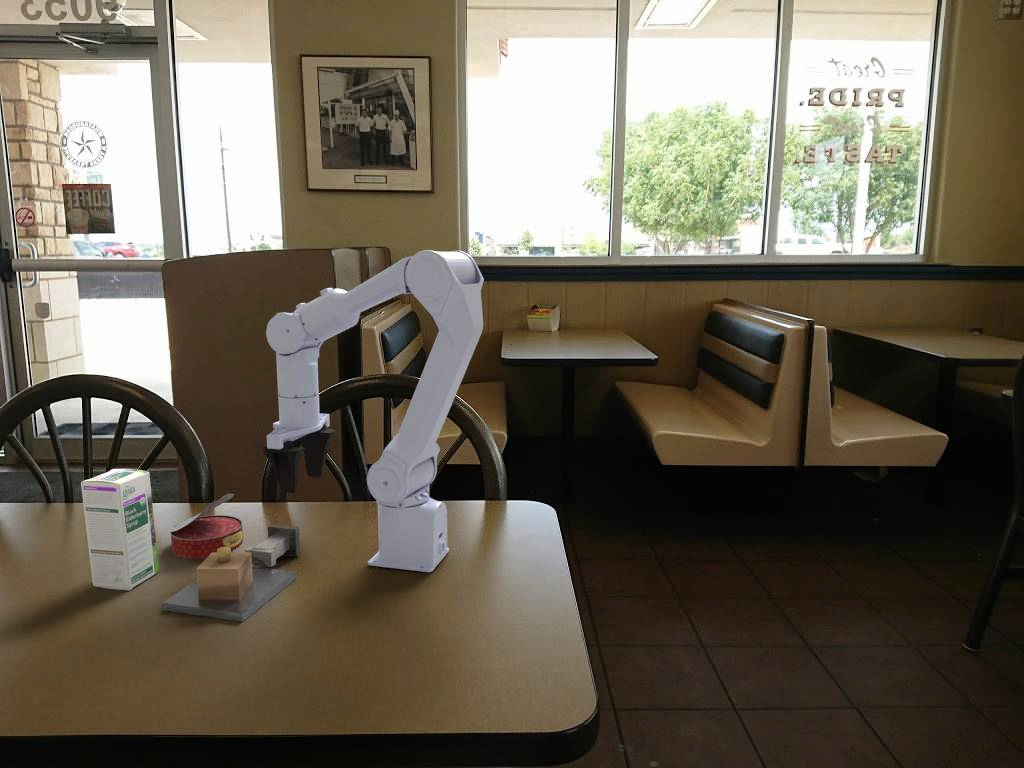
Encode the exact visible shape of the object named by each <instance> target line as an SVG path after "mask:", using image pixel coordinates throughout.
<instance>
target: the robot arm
mask: <svg viewBox="0 0 1024 768" xmlns="http://www.w3.org/2000/svg"><path fill="white" fill-rule="evenodd" d="M484 280H485V278H484V277H483V275H482V272H481V271H480V269H479V266H478V264H477V262H476V260H475V259H474V258H473V256H471V255H470V254H469V253H467V252H465V251H462V250H451V251H435V250H433V249H432V250H431V249H426V250H425V249H424V250H421V251H419V252H417V253H414V254H413V255H412V256H406V257H404V258H403V257H402V258H401V259H399V260H398V261H397V262H395V263H394V264H392V265H391V266H389V267H387V268H385V269H384V270H382V271H381V272H379V273H377V274H375V275H374V276H371V277H370V278H368V279H367V280H365V281H364V282H362V283H360V284H359V285H357V286H355V287H353V288H352V289H350V290H345V289H342V288H338V287H337V288H333V287H327V288H324V289H322V290H320V291H319V294H320V296H318V297H316V298H315V299H313V300H311V301H309V302H307V303H306V302H301V303H298V304H297V305H296V306H295V310H294V311H293V312H285V311H283V312H277V313H276V314H275V315H273V317H271V318H270V319H269V321H268V323H267V325H266V331H265V335H266V339H267V342H268V344H269V346H270V348H271V349H272V350H273V351H275V357H276V359H275V360H276V377H277V378H276V379H277V380H276V381H277V399H278V417H279V419H278V421H275V422H273V423H272V428H273V430H272V431H271V432H270V433H268V434H267V435H266V444H264V445H262V453H263V454H264V455H265V456H266V458H267V459H268V461H269V463H270V464H271V466H272V468H273V470H274V474H275V476H276V479H277V482H278V485H279V488H280V491H281V493H288V494H295V493H296V492H297V490H298V486H299V469H300V463H301V459H302V456H304V457H303V458H304V465H305V470H306V473H307V474H306V475H307V477H311V478H322V476H323V473H324V469H325V464H326V459H327V456H328V451H329V448H330V446H331V444H332V441H333V439H334V438H335V436H336V430H335V429H333V428H328V427H330V426H331V425H330V422H331V421H330V413H320V393H319V391H320V389H319V370H318V369H319V364H318V363H319V362H318V361H319V360H318V359H319V358H320V350H321V349H320V348H321V347H322V345H323V344H324V342H325V341H327V340H328V339H330V338H333V337H334V336H336V335H338V334H341V333H342V332H345V331H346V330H349V329H350V328H353V327H355V326H356V325H357V324H358V322H359V320H360V315H361V313H362V312H365V311H367V310H369V309H371V308H374V307H375V306H377V305H380V304H382V303H384V302H386V301H388V300H391V299H392V298H395V297H397V296H399V295H402V294H404V295H411V294H412V295H413V296H414V298H415V299H416V300H417V301H418V302H419V303H420V304H421V305H422V307H423V308H425V310H426V311H427V312H428V313H429V314H430V316H432V318H433V320H434V322H435V325H436V326H437V329H438V332H437V335H436V337H435V340H434V342H433V345H432V347H431V351H430V352H429V355H428V358H427V361H426V362H425V365H424V368H423V370H422V373H421V376H420V378H419V380H418V382H417V385H416V387H415V390H414V393H413V395H412V398H411V400H410V403H409V405H408V408H407V411H406V413H405V414H404V415H405V416H404V418H403V421H402V422H401V425H400V427H399V430H398V432H397V434H396V435H395V436H394V437H393V438H392V439H391V440H390V442H389V443H388V444H387V446H386V447H385V448H384V449H383V452H382V454H381V456H380V458H379V459H378V460H377V461H376V462H374V463H373V464H371V466H370V468H369V469H368V472H367V474H366V475H367V476H366V483H367V488H368V490H369V492H370V495H371V496H372V497H373V498H374V499H375V501H376V502H375V503H376V504H377V530H378V531H377V532H378V534H377V535H378V538H377V539H378V551H377V553H375V554H374V555H373V557H371V558H370V559H369V560H368V561H367V565H368V566H370V567H371V566H372V567H381V568H387V569H388V568H389V569H395V570H396V569H397V570H407V571H415V572H421V573H431V572H433V571H434V570H435V569H436V567H437V566H438V565H439V564H440V562H441V561H442V560H443V559H444V557H445V556H446V555H447V554H448V553H449V552H450V548H449V547H448V508H447V505H446V503H445V502H443V501H440V500H439V501H438V500H435V499H434V498H432V497H431V496H430V485H431V484H432V483H433V481H434V480H435V478H436V476H437V472H438V464H437V463H438V462H437V460H438V455H439V453H440V452H441V448H440V446H439V445H438V443H437V441H438V438H439V436H440V433H441V431H442V428H443V427H444V424H445V422H446V419H447V416H448V415H449V412H450V409H451V407H452V406H453V402H454V401H455V398H456V396H457V393H458V390H459V388H460V386H461V383H462V381H463V379H464V377H465V374H466V372H467V368H468V366H469V364H470V363H471V362H470V361H471V360H472V357H473V355H474V352H475V350H476V347H477V345H478V343H479V340H480V338H481V335H482V333H483V329H484V317H483V315H484V313H483V303H482V288H483V284H484ZM296 440H299V442H300V445H301V446H295V445H294V444H292V442H294V441H296Z"/></svg>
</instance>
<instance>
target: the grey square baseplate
mask: <svg viewBox="0 0 1024 768" xmlns="http://www.w3.org/2000/svg"><path fill="white" fill-rule="evenodd" d="M252 573H253V582H252V584H251V585H250V586H249V588H248V589H247V590H246V592H245V593H244V595H243V596H242V597H241V599H240V600H199V599H198V585H197V579H196V580H195V581H193V582H191V583H189V584H188V585H187V586H185V587H184V588H182V589H181V590H179V591H178V592H176V593H175V594H173V595H172V596H170V597H168V598H167V599H165V600H164V601H163V602H162V603H161V605H162V606H161V608H162V611H165V612H170V613H171V612H172V613H180V614H187V615H193V616H198V617H199V616H200V617H205V618H214V619H219V620H220V619H221V620H228V621H236V622H240V623H241V622H242V623H244V622H245V621H246V620H247V619H248V618H250V617H251V616H252V615H253V614H254V613H255V612H257V611H258V610H259V609H260V608H262V607H263V606H264V605H266V604H267V603H268V602H269V601H270V600H272V599H273V598H274V597H275V596H276V595H278V594H279V593H280V592H281V591H282V590H284V589H285V588H286V587H287V586H289V585H290V584H291V583H293V582H294V581H295V580H296V579H297V576H296V571H292V570H283V569H275V568H269V567H259V566H253V565H252Z"/></svg>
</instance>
